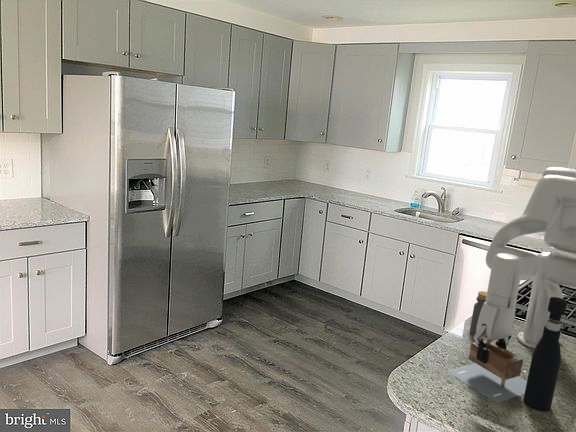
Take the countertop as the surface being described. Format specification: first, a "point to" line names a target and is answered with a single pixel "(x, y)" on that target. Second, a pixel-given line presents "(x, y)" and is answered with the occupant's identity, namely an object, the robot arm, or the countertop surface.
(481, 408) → the countertop surface
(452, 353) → the countertop surface
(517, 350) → the countertop surface
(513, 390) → the board
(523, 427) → the countertop surface
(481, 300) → the bottle
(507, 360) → the frame
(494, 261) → the robot arm
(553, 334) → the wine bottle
